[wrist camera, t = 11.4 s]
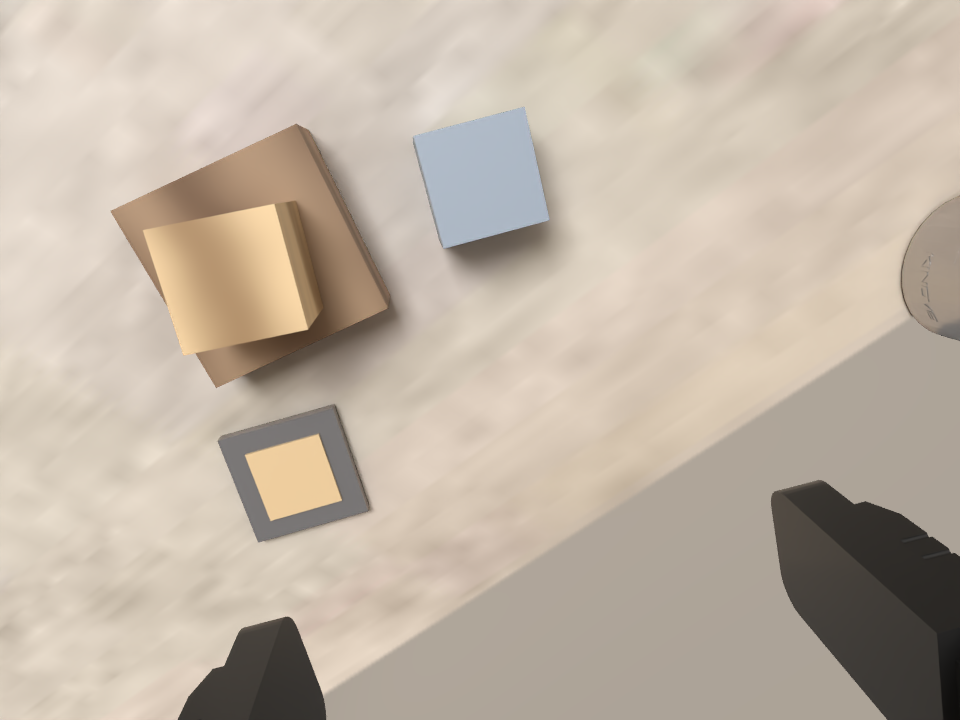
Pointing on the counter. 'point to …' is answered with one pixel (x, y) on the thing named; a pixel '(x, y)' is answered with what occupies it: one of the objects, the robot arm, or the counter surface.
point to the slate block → (481, 177)
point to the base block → (259, 182)
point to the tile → (294, 473)
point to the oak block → (236, 276)
